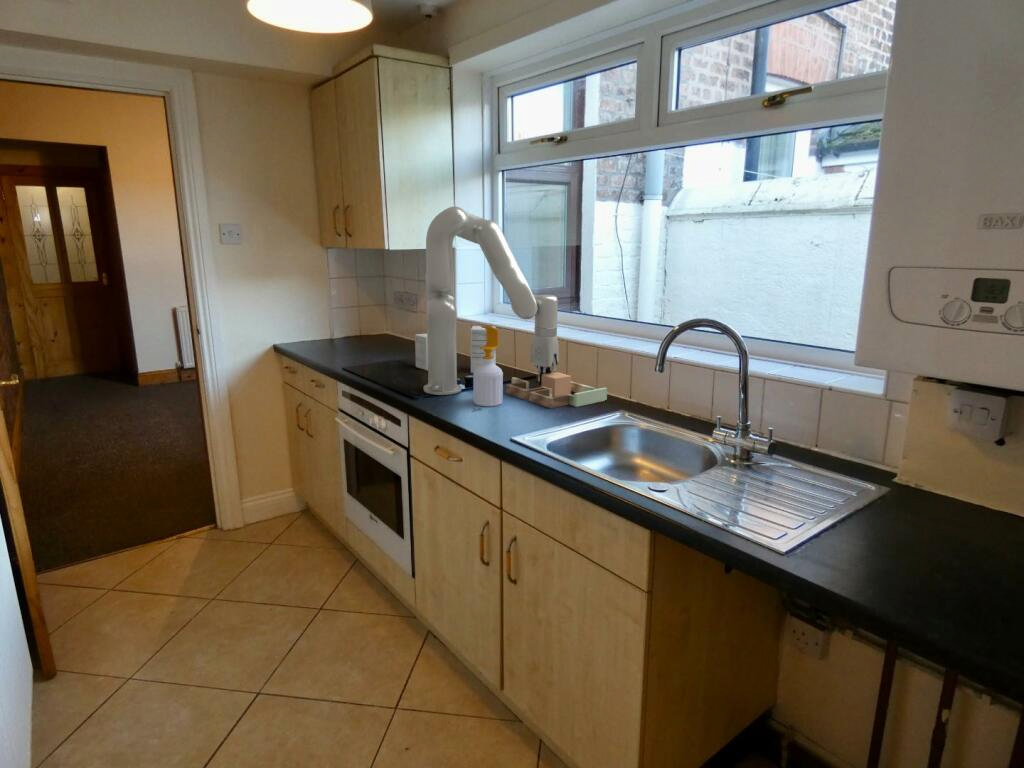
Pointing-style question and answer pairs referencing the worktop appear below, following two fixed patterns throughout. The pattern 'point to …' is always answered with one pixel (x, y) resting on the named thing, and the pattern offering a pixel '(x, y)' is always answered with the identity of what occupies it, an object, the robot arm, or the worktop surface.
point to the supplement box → (478, 346)
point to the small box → (421, 351)
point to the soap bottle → (488, 374)
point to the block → (557, 383)
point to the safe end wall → (590, 397)
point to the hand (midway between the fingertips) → (544, 385)
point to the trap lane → (543, 393)
